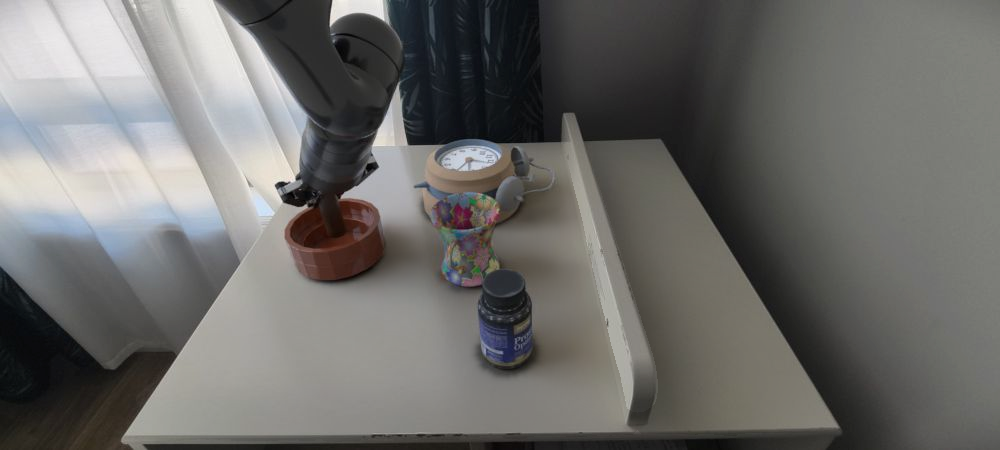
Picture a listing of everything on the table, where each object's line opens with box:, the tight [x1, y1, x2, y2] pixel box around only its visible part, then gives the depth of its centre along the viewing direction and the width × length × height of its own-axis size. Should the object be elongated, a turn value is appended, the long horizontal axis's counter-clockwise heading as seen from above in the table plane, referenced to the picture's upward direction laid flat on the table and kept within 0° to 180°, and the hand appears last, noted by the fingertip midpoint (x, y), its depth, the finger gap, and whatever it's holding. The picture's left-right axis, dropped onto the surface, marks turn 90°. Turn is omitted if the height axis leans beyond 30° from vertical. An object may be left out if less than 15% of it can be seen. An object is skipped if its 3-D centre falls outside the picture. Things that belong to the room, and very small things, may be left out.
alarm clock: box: [413, 138, 556, 225], centre depth 83 cm, size 17×9×23 cm
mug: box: [429, 192, 501, 288], centre depth 67 cm, size 12×9×11 cm
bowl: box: [283, 197, 387, 281], centre depth 74 cm, size 14×14×6 cm
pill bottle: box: [477, 268, 533, 370], centre depth 56 cm, size 6×6×11 cm
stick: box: [319, 194, 347, 238], centre depth 70 cm, size 3×3×12 cm
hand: (323, 198), depth 72 cm, fingers closed on stick, 3 cm apart
